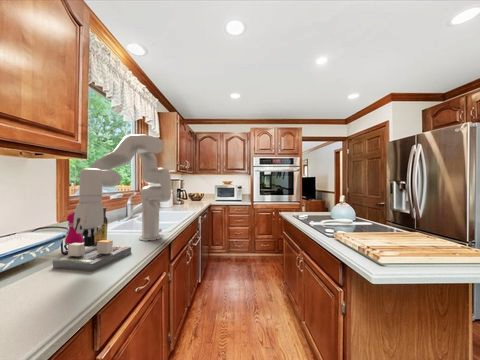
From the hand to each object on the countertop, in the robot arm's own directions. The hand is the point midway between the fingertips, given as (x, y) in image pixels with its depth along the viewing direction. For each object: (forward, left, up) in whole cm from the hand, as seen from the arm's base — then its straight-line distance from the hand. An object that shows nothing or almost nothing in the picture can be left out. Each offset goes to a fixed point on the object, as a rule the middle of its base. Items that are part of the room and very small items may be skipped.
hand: (89, 246), depth 87 cm
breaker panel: (-8, -5, -9) cm, 13 cm away
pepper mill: (-18, -27, -9) cm, 33 cm away
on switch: (-3, -9, -5) cm, 11 cm away
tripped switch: (-8, 0, -5) cm, 9 cm away
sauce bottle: (-30, -23, -9) cm, 39 cm away
